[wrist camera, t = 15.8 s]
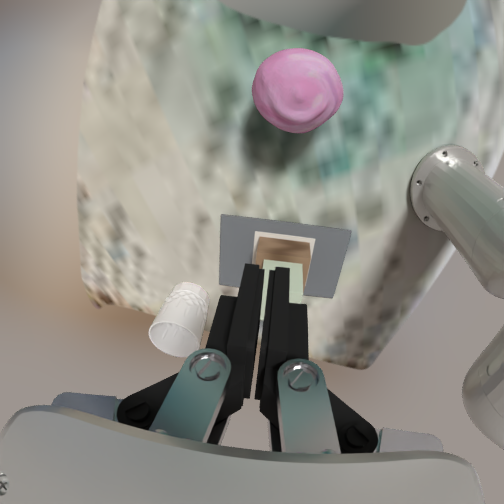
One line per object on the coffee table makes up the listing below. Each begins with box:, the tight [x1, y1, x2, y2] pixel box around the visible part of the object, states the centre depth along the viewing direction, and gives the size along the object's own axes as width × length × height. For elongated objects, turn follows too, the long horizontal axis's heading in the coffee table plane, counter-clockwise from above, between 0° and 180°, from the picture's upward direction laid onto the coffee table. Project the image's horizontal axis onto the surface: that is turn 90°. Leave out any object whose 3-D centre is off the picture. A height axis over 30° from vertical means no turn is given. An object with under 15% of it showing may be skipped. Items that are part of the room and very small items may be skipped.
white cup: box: [149, 282, 210, 357], centre depth 48 cm, size 8×8×10 cm
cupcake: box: [252, 48, 343, 133], centre depth 28 cm, size 9×9×10 cm
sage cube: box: [260, 259, 303, 320], centre depth 39 cm, size 5×5×6 cm
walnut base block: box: [256, 236, 311, 293], centre depth 44 cm, size 7×7×4 cm
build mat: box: [219, 214, 351, 298], centre depth 45 cm, size 18×12×1 cm, turn 86°
